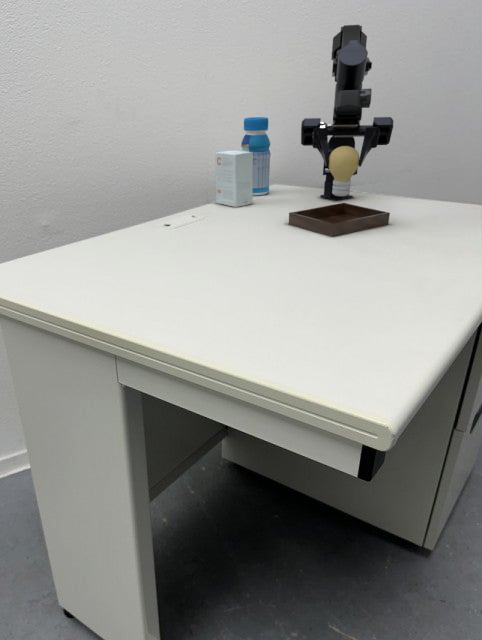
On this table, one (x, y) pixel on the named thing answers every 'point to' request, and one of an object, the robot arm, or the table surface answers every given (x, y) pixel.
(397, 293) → the table surface
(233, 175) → the small box
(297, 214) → the walnut tray
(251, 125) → the beverage bottle
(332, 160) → the light bulb
